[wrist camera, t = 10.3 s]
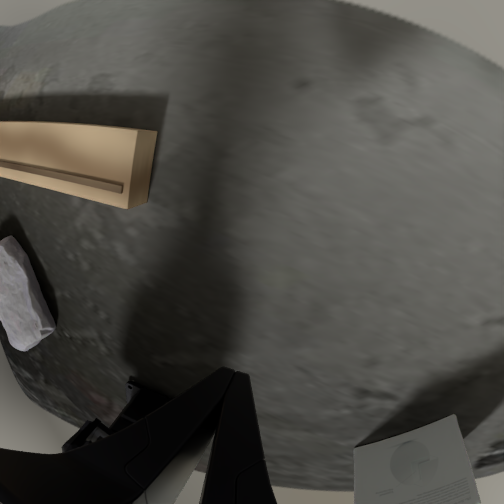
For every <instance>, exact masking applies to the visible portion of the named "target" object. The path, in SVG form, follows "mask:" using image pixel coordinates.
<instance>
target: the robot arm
mask: <svg viewBox="0 0 504 504" xmlns="http://www.w3.org/2000/svg"><path fill="white" fill-rule="evenodd" d="M126 397H127V405H126V406H125V408H124V409H123V410H122V412H121V413H120V414H119V416H118V417H117V418H116V419H115V421H114V422H113V423H112V425H111V426H110V427H109V428H108V427H106V426H105V425H104V424H102V423H101V421H100V420H99V419H97V418H96V419H95V420H94V421H92V422H91V421H88V420H87V421H86V422H85V423H84V425H83V426H82V427H81V428H80V429H79V431H78V432H77V433H76V434H74V435H73V436H72V437H71V438H70V439H69V440H68V441H67V442H66V443H65V444H64V445H63V446H62V452H63V453H58V454H40V453H31V452H23V451H16V450H9V449H3V448H0V504H174V502H175V501H176V499H177V497H178V496H179V494H180V493H181V491H182V489H183V487H184V486H185V484H186V482H187V481H188V479H189V477H190V476H191V474H192V472H193V471H194V469H195V467H196V465H197V464H198V462H199V460H200V459H201V457H202V455H203V453H204V452H205V450H206V448H207V446H208V444H209V443H210V441H211V439H212V437H213V435H214V433H215V436H214V440H213V444H212V449H211V453H210V457H209V462H208V466H207V471H206V475H205V480H204V484H203V489H202V493H201V497H200V502H199V504H277V502H276V499H275V496H274V493H273V490H272V487H271V484H270V480H269V475H268V471H267V466H266V461H265V460H264V459H265V457H264V452H263V447H262V441H261V436H260V431H259V425H258V420H257V415H256V409H255V404H254V398H253V393H252V387H251V381H250V376H249V375H248V374H246V373H243V372H240V371H236V372H235V370H234V369H230V368H227V367H221V368H219V369H218V370H216V371H215V372H213V373H212V374H211V375H209V376H208V377H206V378H205V379H203V380H202V381H200V382H199V383H197V384H196V385H194V386H193V387H191V388H189V389H188V390H186V391H185V392H183V393H182V394H180V395H179V396H177V397H176V398H174V399H171V398H169V397H166V396H164V395H162V394H159V393H157V392H154V391H152V390H150V389H147V388H145V387H143V386H141V385H138V384H136V383H134V382H132V381H128V382H127V383H126Z"/></svg>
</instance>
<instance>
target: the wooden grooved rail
mask: <svg viewBox="0 0 504 504" xmlns="http://www.w3.org/2000/svg"><path fill="white" fill-rule="evenodd" d="M157 132H158V131H150V130H143V129H134V128H126V127H116V126H106V125H95V124H82V123H66V122H44V121H0V176H1V177H5V178H8V179H12V180H16V181H20V182H24V183H28V184H32V185H36V186H40V187H44V188H48V189H51V190H55V191H59V192H63V193H67V194H71V195H75V196H78V197H82V198H86V199H90V200H94V201H97V202H101V203H105V204H109V205H113V206H116V207H120V208H124V209H130V208H133V207H135V206H138V205H141V204H144V203H147V199H148V191H149V183H150V176H151V169H152V162H153V156H154V149H155V143H156V137H157Z"/></svg>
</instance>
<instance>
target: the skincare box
mask: <svg viewBox="0 0 504 504" xmlns="http://www.w3.org/2000/svg"><path fill="white" fill-rule="evenodd" d="M354 504H481V501H480V497H479V494H478V491H477V487H476V483H475V479H474V475H473V471H472V467H471V464H470V460H469V457H468V453H467V450H466V447H465V443H464V440H463V437H462V434H461V431H460V429H459V426H458V421H457V417H456V415H455V414H452V415H450V416H448V417H446V418H443V419H441V420H438V421H436V422H433V423H431V424H428V425H426V426H423V427H420V428H418V429H415V430H412V431H409V432H406V433H403V434H400V435H397V436H394V437H391V438H388V439H385V440H382V441H379V442H375V443H371V444H368V445H364V446H360V447H357V448H354Z"/></svg>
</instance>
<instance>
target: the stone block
mask: <svg viewBox="0 0 504 504" xmlns="http://www.w3.org/2000/svg"><path fill="white" fill-rule="evenodd" d="M0 320H1V322H2V324H3V327H4V328H5V330H6V331H7V335H8V339H9V342H10V344H11V345H12V346H13V347H14V348H16V349H18V350H21V351H27V350H29V349H30V348H32V347H33V346H35V345H37V344H38V343H39V342H40V340H41V339H43V338H45V337H47V336H48V335H49V334H51V333H52V332H53V331H54V330H55V328H56V325H55V322H54V319H53V317H52V315H51V313H50V311H49V309H48V306H47V304H46V301H45V299H44V298H43V295H42V292H41V290H40V286H39V283H38V281H37V279H36V276H35V273H34V271H33V268H32V266H31V264H30V261H29V258H28V255H27V254H26V253H25V251H24V250H23V249H22V247H21V246H20V244H19V243H18V242H17V240H16V239H15V238H14V237H13V236H12V235H11V236H8V237H6V238H4V239H2V240H1V241H0Z"/></svg>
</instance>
